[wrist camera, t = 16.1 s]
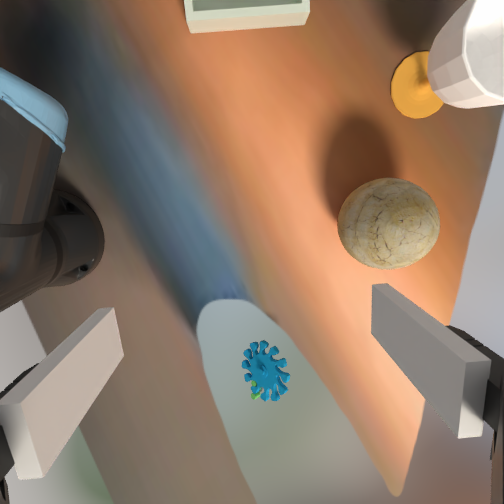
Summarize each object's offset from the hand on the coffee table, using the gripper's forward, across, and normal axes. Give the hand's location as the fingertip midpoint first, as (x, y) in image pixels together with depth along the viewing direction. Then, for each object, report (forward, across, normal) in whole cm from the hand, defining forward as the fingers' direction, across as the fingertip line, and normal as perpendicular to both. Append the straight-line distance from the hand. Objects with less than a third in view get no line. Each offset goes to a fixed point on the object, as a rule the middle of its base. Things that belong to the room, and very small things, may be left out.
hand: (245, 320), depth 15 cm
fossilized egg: (+35, +20, -1) cm, 40 cm away
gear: (+35, +1, -26) cm, 43 cm away
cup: (+35, +28, +18) cm, 48 cm away
